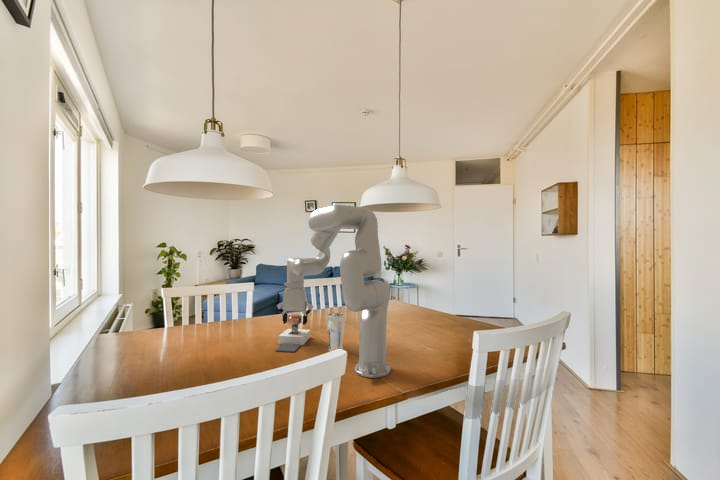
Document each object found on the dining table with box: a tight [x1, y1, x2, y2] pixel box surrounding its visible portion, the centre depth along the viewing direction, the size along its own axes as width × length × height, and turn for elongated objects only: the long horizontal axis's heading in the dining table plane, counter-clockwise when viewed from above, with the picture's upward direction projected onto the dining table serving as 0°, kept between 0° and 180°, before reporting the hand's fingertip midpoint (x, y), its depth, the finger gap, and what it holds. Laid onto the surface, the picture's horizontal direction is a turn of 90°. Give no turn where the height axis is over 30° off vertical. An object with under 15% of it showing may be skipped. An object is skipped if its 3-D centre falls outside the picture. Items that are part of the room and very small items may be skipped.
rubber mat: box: [275, 344, 302, 354], centre depth 130 cm, size 8×8×1 cm
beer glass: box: [327, 312, 345, 352], centre depth 129 cm, size 7×7×15 cm
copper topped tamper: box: [287, 314, 303, 335], centre depth 141 cm, size 6×6×11 cm
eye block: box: [277, 328, 311, 346], centre depth 141 cm, size 11×11×4 cm
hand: (294, 323), depth 141 cm, fingers open, 8 cm apart
